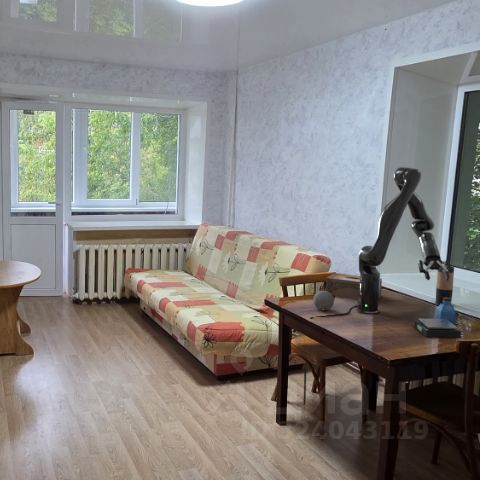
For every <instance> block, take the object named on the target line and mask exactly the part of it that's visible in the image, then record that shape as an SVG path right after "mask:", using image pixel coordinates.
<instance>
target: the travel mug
mask: <svg viewBox="0 0 480 480" xmlns="http://www.w3.org/2000/svg"><path fill="white" fill-rule="evenodd" d="M450 266H451V265H450ZM440 268H441V267H440ZM445 268H446V267H445ZM451 268H452V270H451V272H450V273H449V276H450V278H449V279H448V280H446V279H445V276H444V273H443V272H442V271H440V270H436V271H437V273H436V285H435V305H438V306H439V305H440V304H443V300H444V299H443V298H444V297H448V298H451V302H452V300H453V291H454V276H455V267H454V266H453V265H452V266H451ZM450 305H452V303H451V304H450Z"/></svg>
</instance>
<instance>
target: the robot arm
mask: <svg viewBox="0 0 480 480" xmlns="http://www.w3.org/2000/svg"><path fill="white" fill-rule="evenodd" d="M421 179H422V172H421V170H420V169H418V168H413V167H407V166H400V167H398V168H397V169H395V171H394V174H393V180H394V182H395V185H396V187H397V188H398V190H399V191H400V192H399V193H398V194H397V195H396V196H395V197H394V198H393V199H392V200H390V201H389V202H388V203H386V205H385V206H384V207H383V208H382V211H381V213H380V215H379V216H378V220H377V237H376V238H375V241H374V244H373V246H372V245H364V246H363V247H361V249H360V251H359V253H358V272H359V276H360V291H359V292H358V300H357V301H355V305H353V306H351V307H350V308H349V310H348V311H347V312H344V313H334V314H335V315H331V314H326V315H327V316H316V317H312V316H311V317H309V320H312V319H314V318H330V317H331V318H332V317H337V316H347V315H349V314H350V313H352V310H353V309H356V310H358V312H359V313H362V314H370V315H371V314H372V315H373V314H378V313H379V310H380V309H379V308H380V297H379V289H380V278H381V273H380V271H379V270H378V268H377V267H379V266H380V265H381V264H382V263H383V262H384V261H385V258H386V256H387V253H388V250H389V247H390V243H391V241H392V239H393V236H394V235H395V232H396V230H397V227H398V226H399V224H400V221H401V219H402V217H403V215H404V212H405V210H406V208H407V207H408V210H409V213H410V216H411V219H413V221H412V222H411V224H410V227H411V230H412V232H413V234H415V236H416V238H417V239H418V243H419V246H420V252H421V255H422V259H423V260H422V259H419V261H418V262H417V266H418V272H419V274H424V277H425V280H426V281H430V280H431V276H430V273H429V272H430V271H429V270H431V271H433V270H434V271H438V270H440V271H442V272H443V273H444V276H445V279H446V280H448V279H449V278H450V276H449V273H450V272H451V270H452V268H451V263H450V261H449V259H446V260H442V258H441V254H440V251H439V247H438V245H437V242H436V240H435V237H434V234H433V233H432V232H430V231H433V230H434V229H435V222H434V220H433V219H432V217H430V215H429V213H428V212H427V209H426V207H425V204H424V201H423V200H422V198H421V197H420V196H419V195H418V194H417V193H416V190H417V188H418V186H419V185H420V182H421ZM424 266H425V267H426V268H425V269H424ZM440 267H441V268H440ZM445 267H446V268H445ZM303 368H304V369H303V405H306V399H307V398H306V397H307V367H303Z"/></svg>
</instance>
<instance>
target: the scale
mask: <svg viewBox="0 0 480 480" xmlns="http://www.w3.org/2000/svg"><path fill="white" fill-rule="evenodd" d="M414 328H415V329H416V330H417V331H419V333H421V334H422V335H423V336H424V337H426V338H451V339H452V338H455V339H457V338H458V339H460V338H461V335H462V331H461V330H460V329H459V328H458V329H428V328H427V327H426V326H425V325H423V324H422V323H421V322H420V321H418V319H415V320H414Z"/></svg>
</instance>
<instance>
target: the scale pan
mask: <svg viewBox="0 0 480 480" xmlns="http://www.w3.org/2000/svg"><path fill="white" fill-rule="evenodd" d="M417 320H418V321H420V322H421V323H422V324H423V325H425V326H426V327H427V328H428V329H459V328H458V327H457V326H456V324H455V325H453V324H452V323H451V322H449V321H448V320H446V319H436V318H417Z"/></svg>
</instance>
